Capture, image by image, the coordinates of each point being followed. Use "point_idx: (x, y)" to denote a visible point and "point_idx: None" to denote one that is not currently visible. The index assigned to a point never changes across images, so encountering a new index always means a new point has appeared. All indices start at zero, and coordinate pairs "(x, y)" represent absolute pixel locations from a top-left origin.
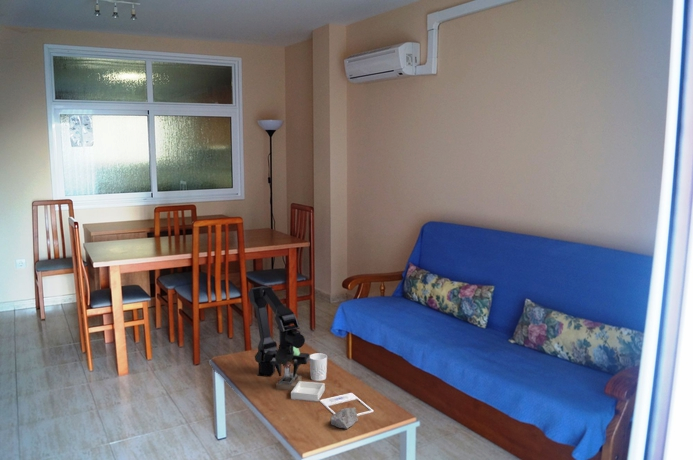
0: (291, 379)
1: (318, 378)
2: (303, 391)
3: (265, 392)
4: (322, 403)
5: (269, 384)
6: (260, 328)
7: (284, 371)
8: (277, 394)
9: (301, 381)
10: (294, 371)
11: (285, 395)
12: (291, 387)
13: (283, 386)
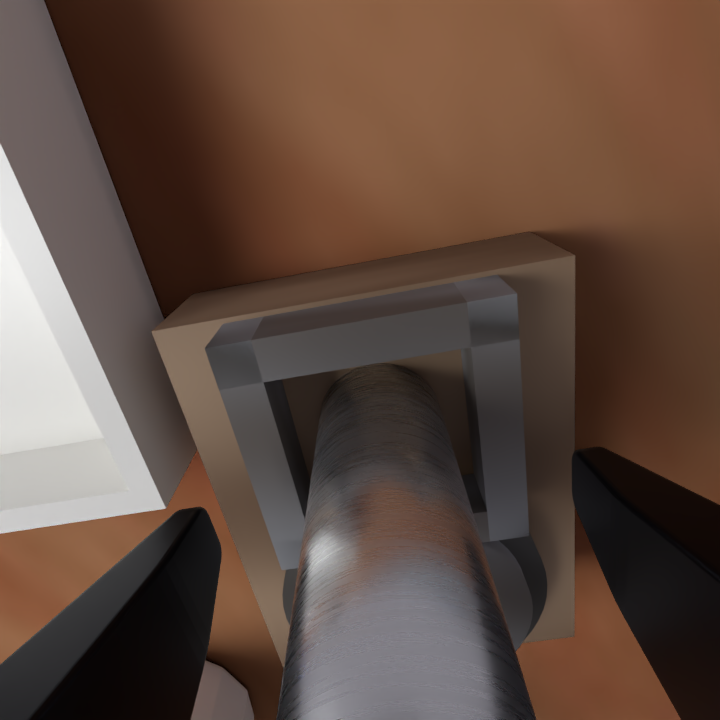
0: None
1: None
2: (14, 314)
3: (707, 22)
4: None
5: (716, 370)
6: None
7: (464, 589)
8: (419, 36)
9: (113, 508)
10: (28, 676)
11: (241, 62)
12: (226, 303)
13: (395, 277)
